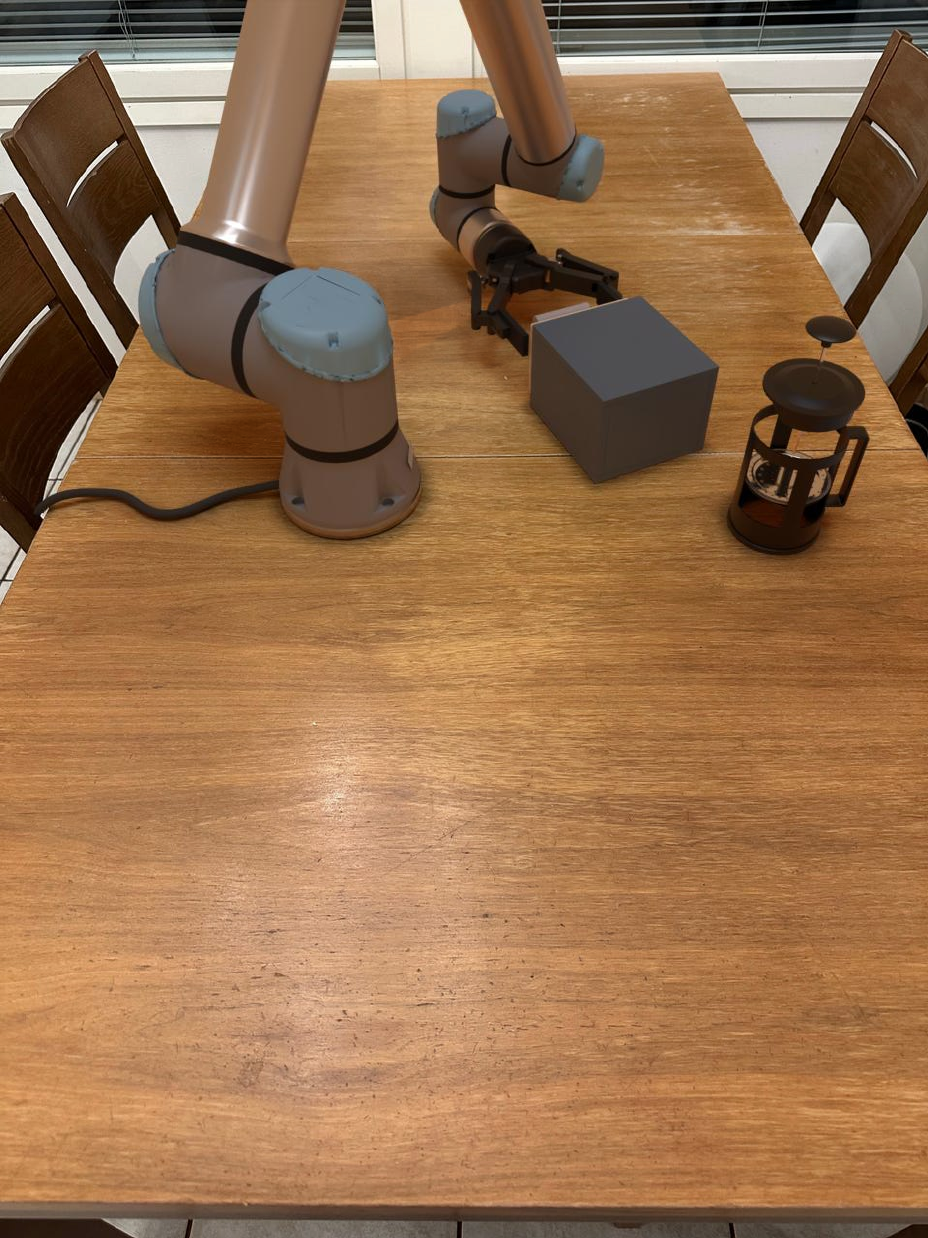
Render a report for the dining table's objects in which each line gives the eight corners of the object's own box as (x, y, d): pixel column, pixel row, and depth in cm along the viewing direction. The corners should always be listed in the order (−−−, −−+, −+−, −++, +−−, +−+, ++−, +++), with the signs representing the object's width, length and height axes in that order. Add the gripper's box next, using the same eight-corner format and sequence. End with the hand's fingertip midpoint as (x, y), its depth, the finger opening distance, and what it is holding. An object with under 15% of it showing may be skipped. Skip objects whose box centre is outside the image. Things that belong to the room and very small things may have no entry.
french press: (727, 555, 95) (779, 356, 78) (713, 493, 101) (758, 296, 84) (846, 555, 95) (924, 355, 77) (824, 493, 101) (892, 295, 84)
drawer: (510, 369, 116) (511, 303, 109) (600, 344, 119) (606, 278, 112) (587, 460, 104) (594, 392, 97) (685, 429, 107) (698, 361, 100)
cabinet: (529, 405, 112) (532, 324, 104) (630, 375, 116) (640, 294, 108) (595, 484, 103) (603, 401, 95) (702, 449, 106) (719, 366, 98)
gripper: (579, 257, 129) (664, 334, 116) (412, 299, 123) (481, 386, 110) (583, 202, 123) (672, 277, 110) (408, 244, 117) (480, 328, 104)
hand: (577, 331), depth 110 cm, fingers closed on drawer, 13 cm apart
